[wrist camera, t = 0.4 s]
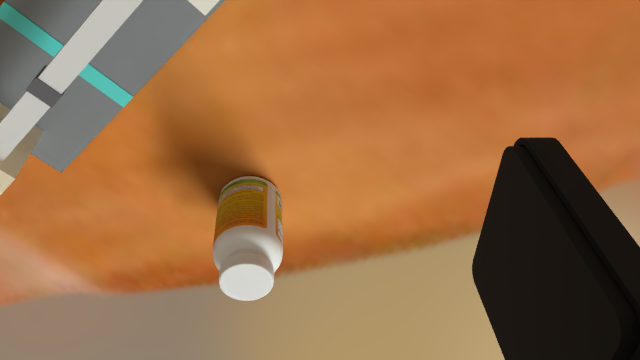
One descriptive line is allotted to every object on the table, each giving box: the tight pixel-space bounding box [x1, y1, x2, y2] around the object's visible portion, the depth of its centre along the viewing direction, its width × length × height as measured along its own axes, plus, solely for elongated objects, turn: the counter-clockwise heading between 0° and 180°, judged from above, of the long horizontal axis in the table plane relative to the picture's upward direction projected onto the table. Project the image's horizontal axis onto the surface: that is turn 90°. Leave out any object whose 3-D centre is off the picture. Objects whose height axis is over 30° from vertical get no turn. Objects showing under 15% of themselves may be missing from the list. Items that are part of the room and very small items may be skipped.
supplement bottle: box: [213, 176, 283, 301], centre depth 45 cm, size 5×5×10 cm
